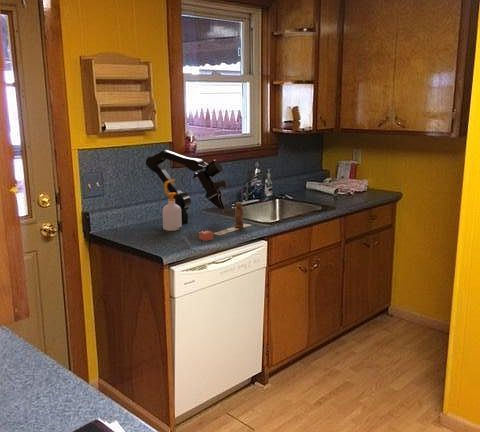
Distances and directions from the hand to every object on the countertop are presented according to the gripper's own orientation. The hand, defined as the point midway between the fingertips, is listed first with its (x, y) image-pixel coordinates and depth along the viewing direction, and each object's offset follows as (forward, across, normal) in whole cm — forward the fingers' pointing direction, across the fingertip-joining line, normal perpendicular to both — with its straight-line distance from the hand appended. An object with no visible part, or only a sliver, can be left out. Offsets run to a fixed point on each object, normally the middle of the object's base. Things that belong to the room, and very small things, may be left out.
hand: (222, 208), depth 258 cm
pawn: (+12, -3, -3) cm, 13 cm away
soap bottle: (-4, -3, +26) cm, 27 cm away
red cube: (+11, -25, +11) cm, 30 cm away
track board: (+12, -7, +1) cm, 14 cm away
